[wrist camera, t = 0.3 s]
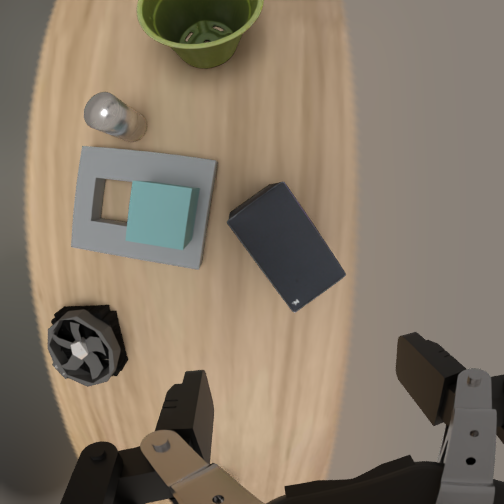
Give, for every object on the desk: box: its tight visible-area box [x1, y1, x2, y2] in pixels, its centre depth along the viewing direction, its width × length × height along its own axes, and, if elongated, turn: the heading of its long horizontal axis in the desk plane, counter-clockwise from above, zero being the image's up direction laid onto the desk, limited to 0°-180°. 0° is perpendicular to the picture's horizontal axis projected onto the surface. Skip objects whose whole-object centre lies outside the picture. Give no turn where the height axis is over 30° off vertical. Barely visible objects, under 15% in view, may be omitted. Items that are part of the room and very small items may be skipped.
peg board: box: [71, 146, 218, 270], centre depth 34 cm, size 12×16×5 cm
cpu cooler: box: [48, 305, 128, 387], centre depth 37 cm, size 10×6×10 cm
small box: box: [227, 182, 346, 312], centre depth 33 cm, size 11×6×10 cm, turn 36°
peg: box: [84, 92, 147, 142], centre depth 30 cm, size 4×4×10 cm
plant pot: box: [137, 0, 264, 68], centre depth 28 cm, size 12×12×11 cm
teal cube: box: [125, 181, 200, 250], centre depth 31 cm, size 6×6×6 cm
